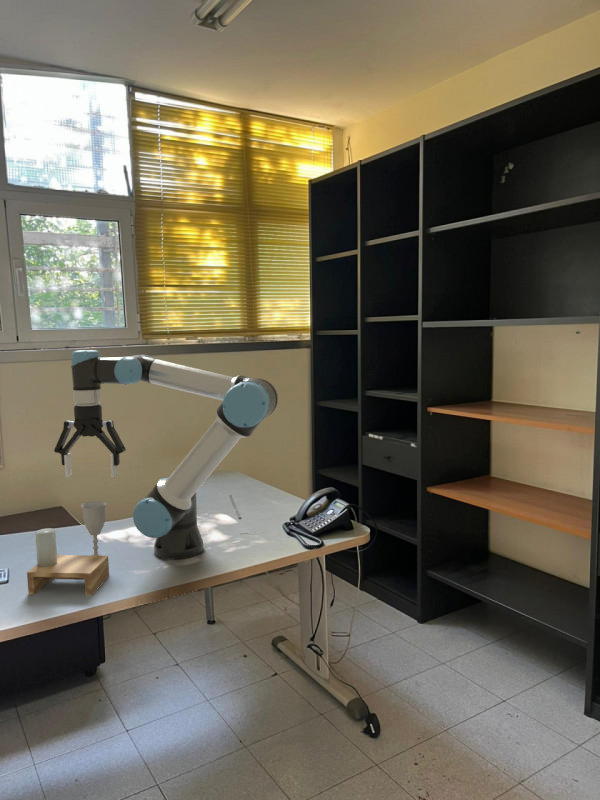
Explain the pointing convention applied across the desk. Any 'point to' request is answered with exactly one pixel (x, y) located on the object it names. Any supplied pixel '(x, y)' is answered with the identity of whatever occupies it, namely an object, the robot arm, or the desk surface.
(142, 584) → the desk surface
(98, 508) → the chalice
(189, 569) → the desk surface
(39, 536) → the white glossy rounded part
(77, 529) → the desk surface
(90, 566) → the shelf
